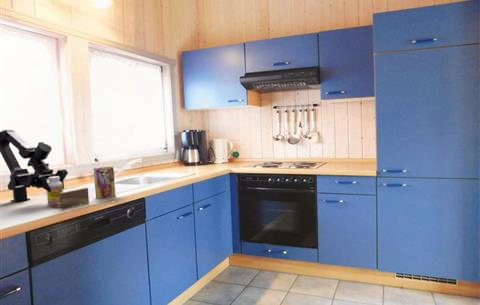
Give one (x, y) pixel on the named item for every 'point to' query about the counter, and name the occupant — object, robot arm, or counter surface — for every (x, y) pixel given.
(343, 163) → the counter surface
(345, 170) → the counter surface
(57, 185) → the supplement bottle
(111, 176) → the candy box
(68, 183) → the counter surface
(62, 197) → the brown rectangular box
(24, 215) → the counter surface
